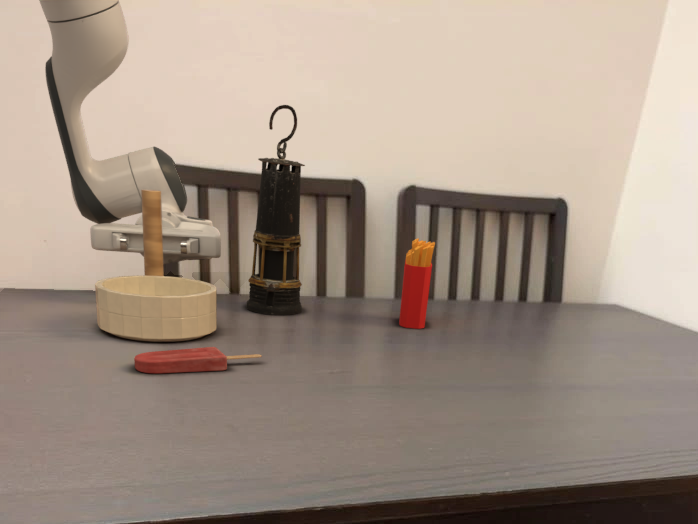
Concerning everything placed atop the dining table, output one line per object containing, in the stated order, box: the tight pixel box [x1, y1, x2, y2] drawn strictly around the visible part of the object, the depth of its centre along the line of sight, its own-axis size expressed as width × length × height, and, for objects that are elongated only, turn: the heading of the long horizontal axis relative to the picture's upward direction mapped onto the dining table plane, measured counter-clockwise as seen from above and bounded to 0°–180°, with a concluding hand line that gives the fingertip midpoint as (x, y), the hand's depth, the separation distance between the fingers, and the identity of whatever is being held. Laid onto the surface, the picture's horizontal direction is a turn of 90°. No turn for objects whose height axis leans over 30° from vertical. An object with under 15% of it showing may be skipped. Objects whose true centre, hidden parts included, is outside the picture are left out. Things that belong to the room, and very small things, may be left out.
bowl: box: [94, 274, 218, 343], centre depth 99 cm, size 16×16×6 cm
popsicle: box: [133, 346, 263, 375], centre depth 85 cm, size 4×2×15 cm
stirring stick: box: [141, 190, 165, 276], centre depth 110 cm, size 4×4×17 cm
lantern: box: [245, 104, 306, 316], centre depth 113 cm, size 9×9×30 cm
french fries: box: [398, 237, 436, 330], centre depth 115 cm, size 9×4×13 cm, turn 177°
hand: (153, 246), depth 111 cm, fingers open, 8 cm apart
